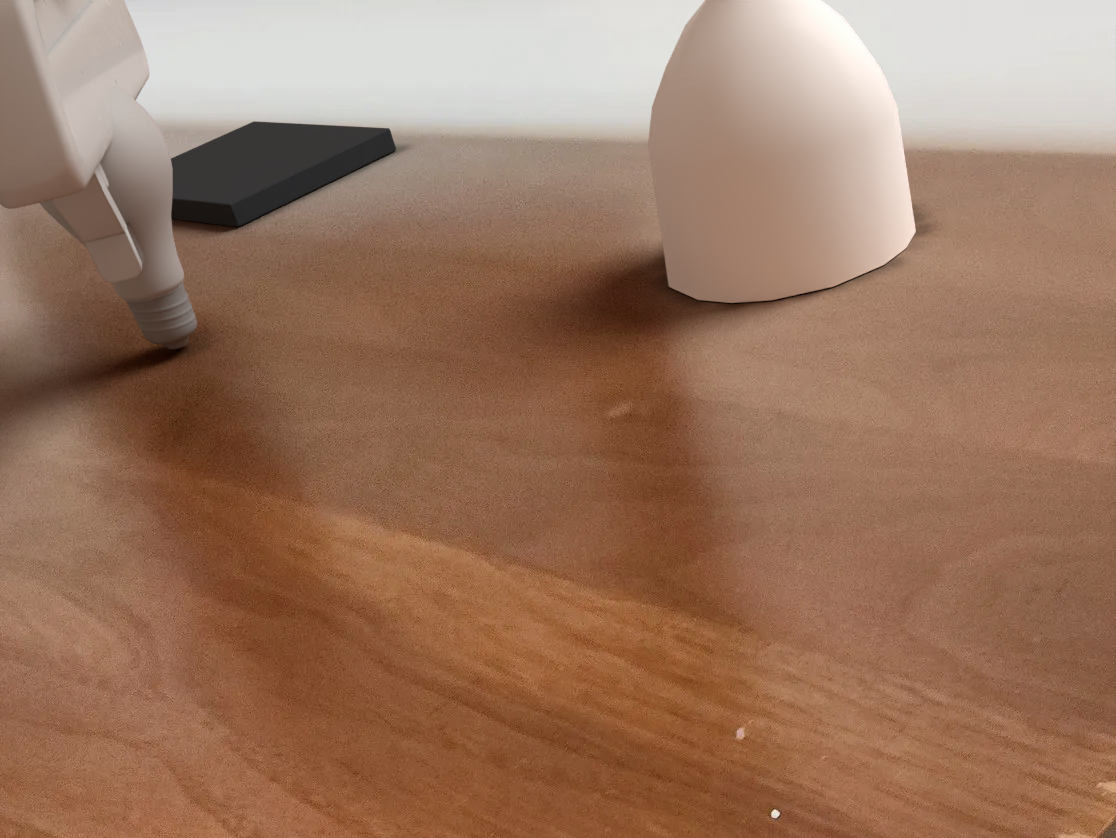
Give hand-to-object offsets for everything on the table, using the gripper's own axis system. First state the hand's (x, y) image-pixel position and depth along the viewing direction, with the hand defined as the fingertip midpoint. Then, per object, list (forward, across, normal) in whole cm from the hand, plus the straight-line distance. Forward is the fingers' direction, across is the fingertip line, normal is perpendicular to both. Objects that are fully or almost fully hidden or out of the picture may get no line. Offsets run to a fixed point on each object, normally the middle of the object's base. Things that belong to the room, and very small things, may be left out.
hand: (137, 252), depth 64 cm
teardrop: (+4, +7, +28) cm, 29 cm away
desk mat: (+4, -27, +1) cm, 27 cm away
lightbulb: (+4, 0, 0) cm, 4 cm away
